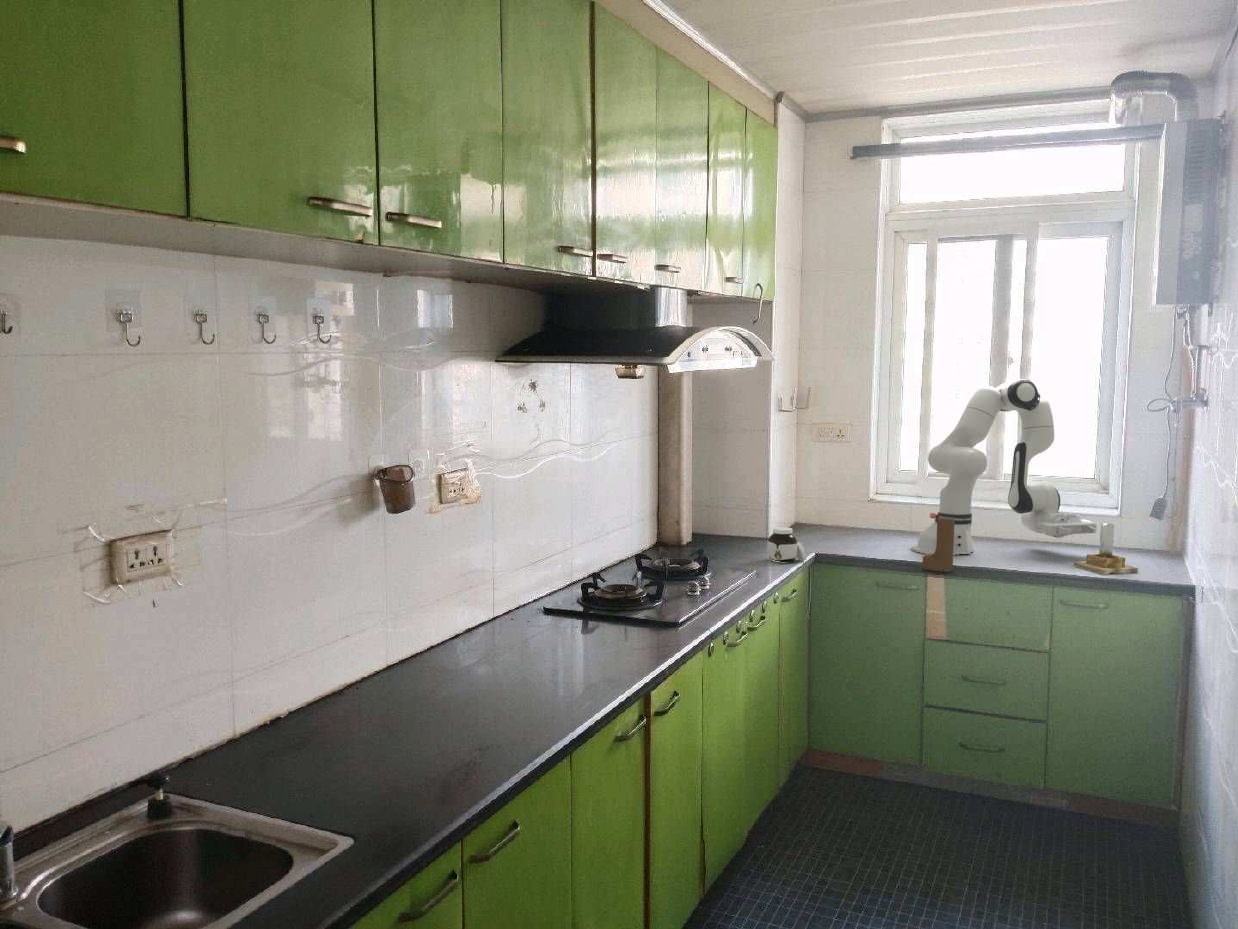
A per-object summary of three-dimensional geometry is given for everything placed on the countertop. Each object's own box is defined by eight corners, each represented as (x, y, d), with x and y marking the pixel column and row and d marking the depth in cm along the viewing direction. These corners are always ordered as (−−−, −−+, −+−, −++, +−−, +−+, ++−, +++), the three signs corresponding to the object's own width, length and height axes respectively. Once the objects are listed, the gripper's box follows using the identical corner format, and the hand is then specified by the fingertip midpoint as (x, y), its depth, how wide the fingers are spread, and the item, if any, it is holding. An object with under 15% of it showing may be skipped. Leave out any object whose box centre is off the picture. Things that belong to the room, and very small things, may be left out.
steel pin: (1104, 566, 334) (1106, 525, 333) (1096, 564, 338) (1098, 523, 337) (1114, 565, 335) (1117, 524, 334) (1106, 563, 339) (1108, 522, 338)
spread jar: (763, 560, 351) (764, 527, 350) (785, 556, 358) (785, 524, 357) (790, 566, 342) (790, 532, 341) (811, 561, 349) (812, 529, 348)
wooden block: (921, 569, 336) (923, 516, 334) (926, 567, 340) (928, 515, 338) (948, 573, 331) (950, 519, 329) (953, 570, 334) (955, 517, 332)
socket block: (1101, 574, 328) (1102, 561, 328) (1073, 566, 342) (1073, 553, 342) (1137, 572, 332) (1138, 559, 331) (1108, 564, 345) (1108, 551, 345)
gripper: (1031, 517, 358) (1057, 523, 344) (1080, 515, 363) (1107, 521, 349) (1030, 534, 358) (1056, 541, 345) (1079, 532, 363) (1106, 539, 350)
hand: (1082, 531), depth 347 cm, fingers open, 8 cm apart
